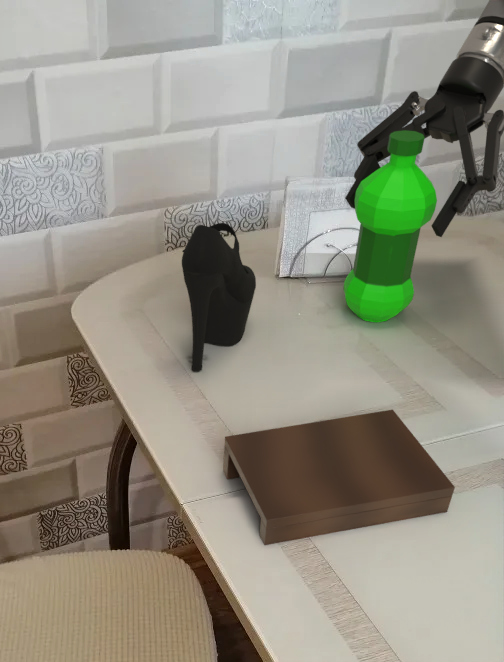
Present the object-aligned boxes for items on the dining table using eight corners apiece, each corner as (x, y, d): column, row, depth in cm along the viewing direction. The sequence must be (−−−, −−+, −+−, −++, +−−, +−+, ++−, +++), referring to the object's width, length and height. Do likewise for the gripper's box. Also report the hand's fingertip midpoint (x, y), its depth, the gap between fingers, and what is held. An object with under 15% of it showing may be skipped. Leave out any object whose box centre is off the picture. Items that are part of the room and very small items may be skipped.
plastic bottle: (403, 297, 120) (440, 122, 104) (414, 332, 113) (456, 150, 96) (336, 295, 121) (361, 122, 105) (342, 331, 114) (371, 150, 97)
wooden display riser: (385, 443, 94) (392, 409, 91) (444, 522, 84) (455, 487, 81) (222, 470, 91) (224, 436, 88) (263, 556, 81) (267, 520, 78)
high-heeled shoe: (262, 317, 117) (273, 181, 104) (217, 385, 105) (223, 239, 91) (211, 308, 120) (216, 174, 107) (161, 372, 107) (159, 229, 94)
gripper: (390, 39, 109) (308, 179, 112) (569, 70, 95) (470, 230, 97) (405, 73, 115) (327, 206, 118) (575, 107, 101) (481, 257, 104)
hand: (391, 217), depth 108 cm, fingers open, 13 cm apart
